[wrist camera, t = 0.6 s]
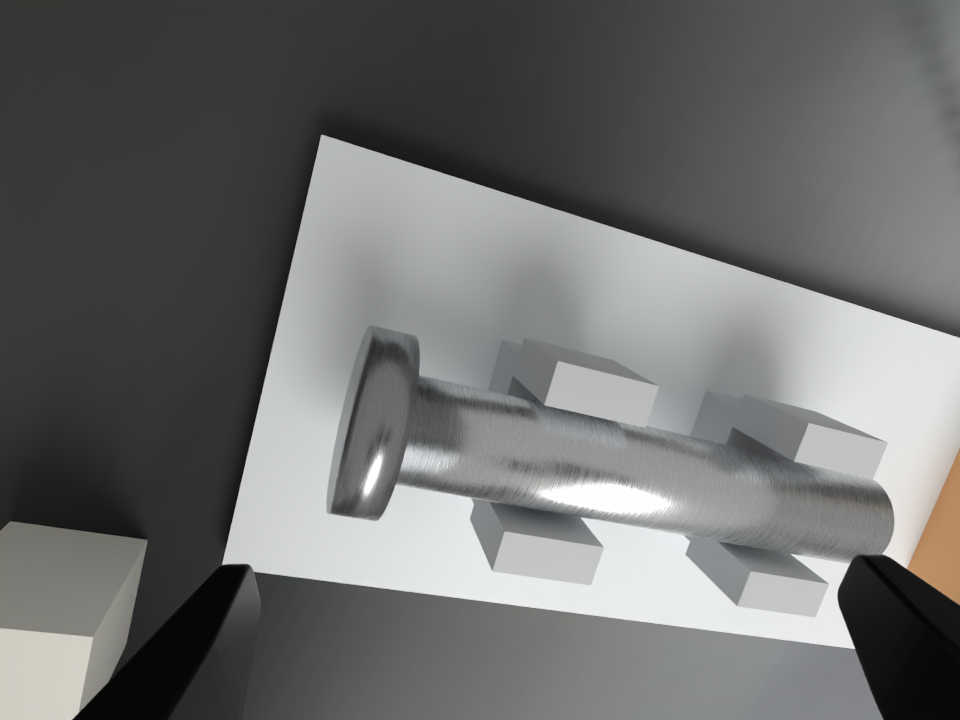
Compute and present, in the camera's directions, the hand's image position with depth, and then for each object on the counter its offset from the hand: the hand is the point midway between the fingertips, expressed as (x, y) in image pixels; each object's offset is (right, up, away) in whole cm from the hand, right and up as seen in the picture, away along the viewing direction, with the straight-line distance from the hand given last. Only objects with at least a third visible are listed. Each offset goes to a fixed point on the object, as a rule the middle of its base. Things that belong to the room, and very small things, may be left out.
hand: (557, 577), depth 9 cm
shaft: (+3, 0, +12) cm, 12 cm away
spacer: (-15, -4, +11) cm, 19 cm away
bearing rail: (+6, 0, +15) cm, 16 cm away
